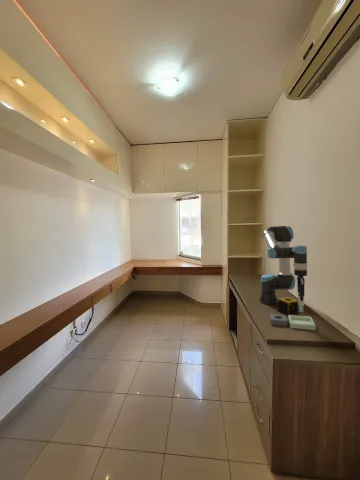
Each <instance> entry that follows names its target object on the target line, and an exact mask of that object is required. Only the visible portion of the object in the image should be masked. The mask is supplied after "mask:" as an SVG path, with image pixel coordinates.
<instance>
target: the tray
mask: <svg viewBox="0 0 360 480" xmlns="http://www.w3.org/2000/svg"><path fill="white" fill-rule="evenodd" d="M287 316H288V322H289V325H290V328H291V329H299V330H309V331H316V330H317V329H316V328H317V325H316V323H315V321H314V319H313V318H312V316H309V315H307V316H306V315H304V316H303V315H296V314H293V315H287Z"/></svg>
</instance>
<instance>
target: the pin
mask: <svg viewBox="0 0 360 480" xmlns="http://www.w3.org/2000/svg"><path fill="white" fill-rule="evenodd" d="M298 295H299V293H298V292H297V298H298V299H297V300H298V312H299V313H300V312H301V313H304V312H305V308H304V306H305V305H304V306H301V305H299V296H298Z"/></svg>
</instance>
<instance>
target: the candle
mask: <svg viewBox="0 0 360 480" xmlns="http://www.w3.org/2000/svg"><path fill="white" fill-rule="evenodd" d="M277 304H278V306H277V312H280V313H281V314H282V315H286V316H288V315H296V314H299V304H298V299H295V298H292V297H289V296H285V297H281V298H280V297H279V298H278V303H277Z"/></svg>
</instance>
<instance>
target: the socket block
mask: <svg viewBox="0 0 360 480" xmlns="http://www.w3.org/2000/svg"><path fill="white" fill-rule="evenodd" d="M269 318H270V320H269V321H270V325H271V324H273V325H272V326H280V325H282V327H288V320H287V315H286V314H277V313H276V314H275V313H270V314H269Z"/></svg>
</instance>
